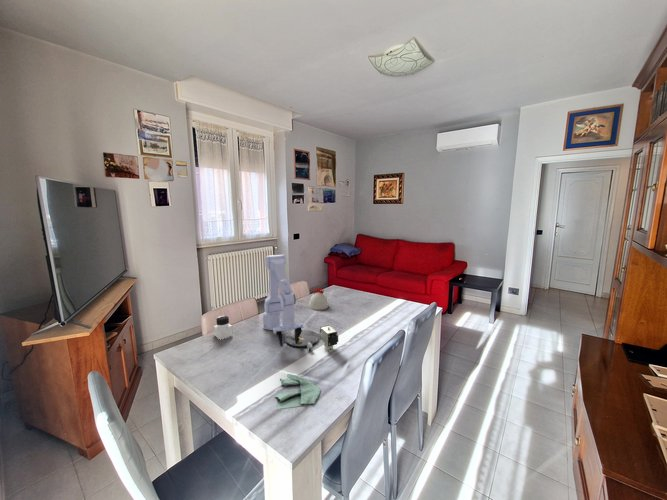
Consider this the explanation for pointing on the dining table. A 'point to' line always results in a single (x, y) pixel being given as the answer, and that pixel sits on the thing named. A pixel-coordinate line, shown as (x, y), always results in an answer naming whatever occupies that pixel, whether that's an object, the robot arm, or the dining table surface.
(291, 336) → the cover
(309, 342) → the silver oval knob
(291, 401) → the cloth
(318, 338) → the base plate
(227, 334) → the medicine bottle
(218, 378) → the dining table surface
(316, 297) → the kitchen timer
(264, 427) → the dining table surface
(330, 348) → the pneumatic valve
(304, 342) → the turntable
